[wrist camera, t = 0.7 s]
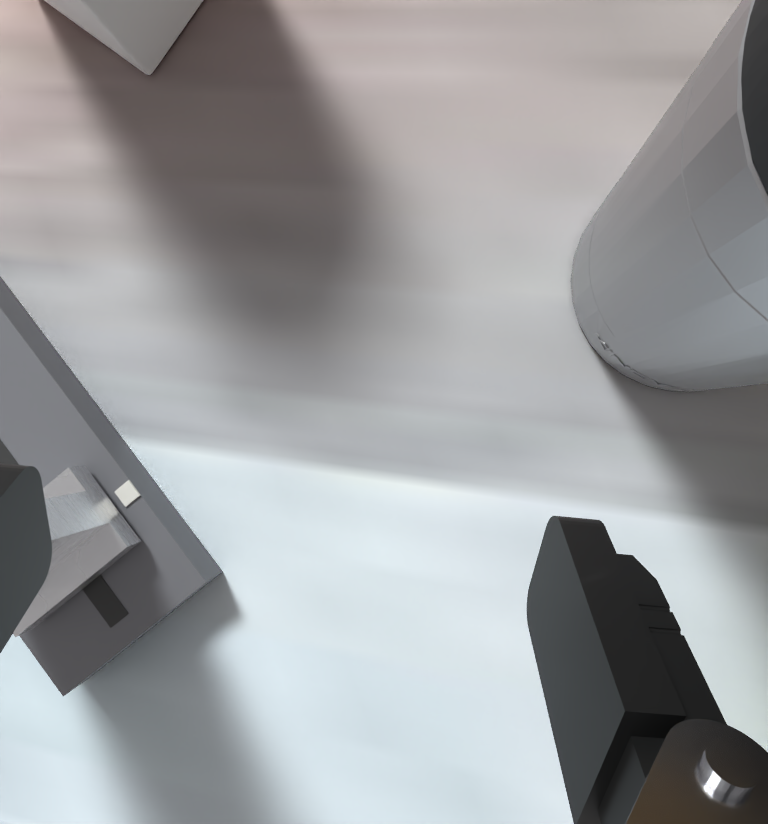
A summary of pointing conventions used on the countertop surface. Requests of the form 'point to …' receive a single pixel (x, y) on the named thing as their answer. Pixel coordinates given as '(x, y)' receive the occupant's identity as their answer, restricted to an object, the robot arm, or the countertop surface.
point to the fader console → (120, 480)
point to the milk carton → (132, 25)
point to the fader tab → (77, 541)
